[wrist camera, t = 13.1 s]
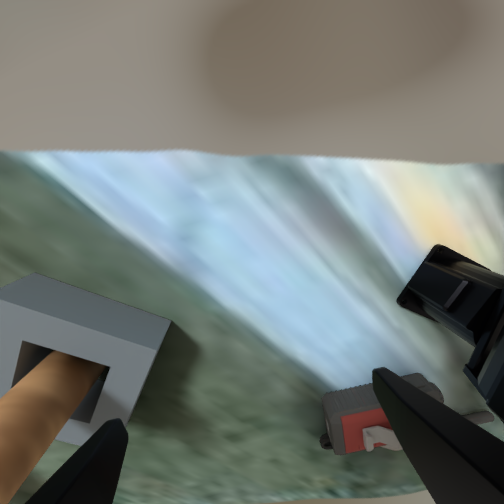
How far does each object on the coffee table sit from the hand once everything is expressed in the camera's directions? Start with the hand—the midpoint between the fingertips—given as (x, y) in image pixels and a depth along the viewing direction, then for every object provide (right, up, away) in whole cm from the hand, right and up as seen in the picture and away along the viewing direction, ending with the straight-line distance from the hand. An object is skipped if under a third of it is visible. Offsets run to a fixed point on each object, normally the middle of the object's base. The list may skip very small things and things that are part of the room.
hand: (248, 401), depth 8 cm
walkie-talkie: (+17, -12, +19) cm, 28 cm away
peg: (-15, -4, +14) cm, 21 cm away
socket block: (-15, -4, +14) cm, 21 cm away
